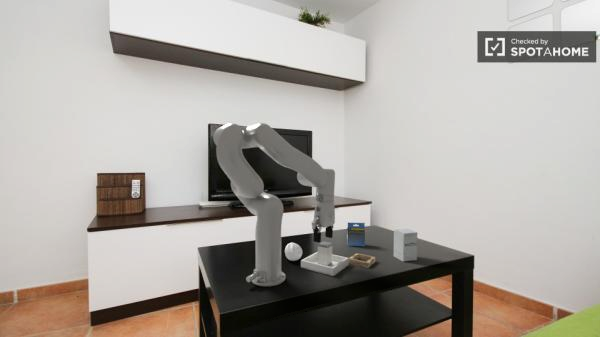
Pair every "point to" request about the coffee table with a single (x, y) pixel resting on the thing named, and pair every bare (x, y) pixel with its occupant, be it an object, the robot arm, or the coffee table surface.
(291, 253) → the white grooved ball
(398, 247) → the supplement box
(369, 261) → the tan wooden flat frame
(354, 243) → the label tape cartridge
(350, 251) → the coffee table surface
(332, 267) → the parts tray
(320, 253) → the grey white rectangular block
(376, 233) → the coffee table surface
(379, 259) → the coffee table surface
